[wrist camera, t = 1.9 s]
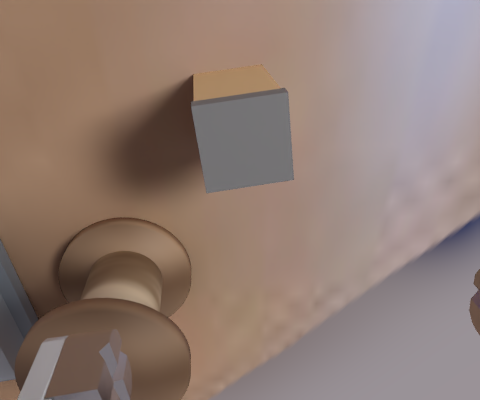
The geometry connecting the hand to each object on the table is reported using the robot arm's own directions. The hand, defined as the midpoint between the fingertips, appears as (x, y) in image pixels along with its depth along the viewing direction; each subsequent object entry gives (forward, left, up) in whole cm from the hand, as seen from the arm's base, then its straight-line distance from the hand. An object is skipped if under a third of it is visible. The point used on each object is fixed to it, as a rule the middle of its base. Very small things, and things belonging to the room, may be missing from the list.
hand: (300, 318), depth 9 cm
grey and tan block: (0, 0, -18) cm, 18 cm away
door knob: (+11, -9, -18) cm, 23 cm away
